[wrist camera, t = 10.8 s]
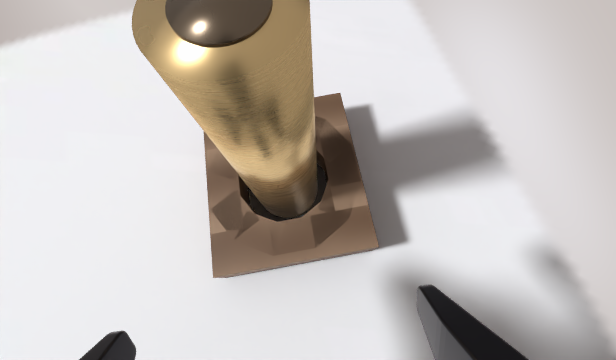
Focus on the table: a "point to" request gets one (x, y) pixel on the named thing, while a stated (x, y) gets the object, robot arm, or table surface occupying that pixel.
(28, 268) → the table surface
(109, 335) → the robot arm
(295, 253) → the jig plate
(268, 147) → the bronze sleeve
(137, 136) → the table surface
